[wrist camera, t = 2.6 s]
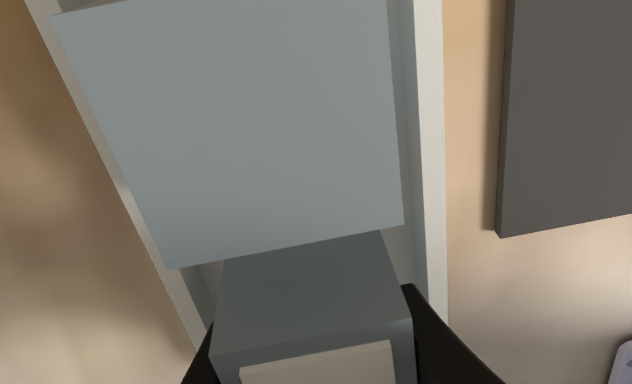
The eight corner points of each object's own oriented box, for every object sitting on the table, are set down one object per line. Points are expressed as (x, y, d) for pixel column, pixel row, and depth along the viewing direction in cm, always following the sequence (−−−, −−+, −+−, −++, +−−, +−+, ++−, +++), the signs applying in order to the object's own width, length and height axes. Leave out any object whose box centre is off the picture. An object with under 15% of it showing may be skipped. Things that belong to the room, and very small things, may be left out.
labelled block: (384, 309, 15) (423, 440, 11) (263, 332, 15) (258, 471, 11) (370, 206, 13) (414, 324, 9) (227, 234, 13) (206, 364, 9)
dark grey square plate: (698, 192, 14) (709, 198, 14) (495, 231, 14) (500, 238, 14) (794, -86, 10) (812, -87, 10) (509, -28, 10) (517, -27, 10)
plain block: (361, 132, 12) (404, 224, 8) (202, 163, 12) (167, 270, 8) (337, -52, 9) (381, -52, 5) (140, -12, 9) (47, 16, 6)
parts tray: (432, 321, 16) (448, 360, 15) (226, 360, 16) (221, 403, 15) (410, -156, 9) (438, -178, 7) (33, -77, 9) (-18, -83, 7)
